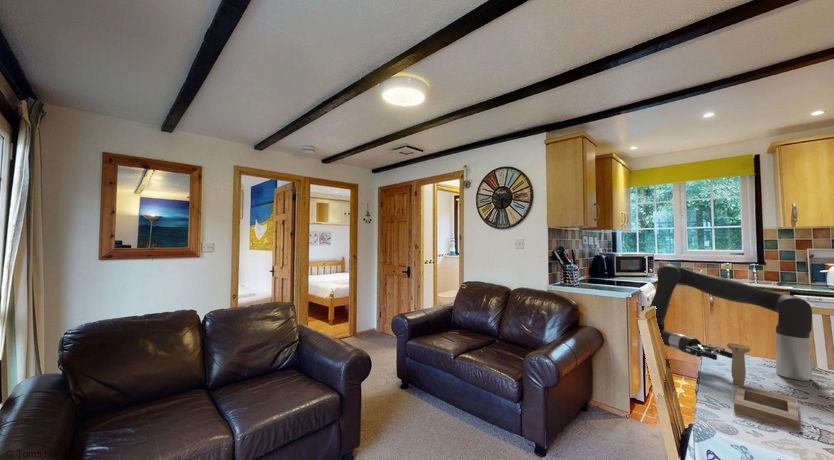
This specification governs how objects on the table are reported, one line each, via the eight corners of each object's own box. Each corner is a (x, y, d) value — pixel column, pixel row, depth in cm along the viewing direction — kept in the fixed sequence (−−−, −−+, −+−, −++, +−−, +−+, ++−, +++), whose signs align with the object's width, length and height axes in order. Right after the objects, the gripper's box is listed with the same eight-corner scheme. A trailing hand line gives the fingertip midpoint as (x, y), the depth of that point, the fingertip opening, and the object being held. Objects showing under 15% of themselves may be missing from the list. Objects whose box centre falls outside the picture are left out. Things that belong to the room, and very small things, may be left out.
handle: (747, 389, 124) (747, 349, 124) (725, 382, 129) (725, 344, 129) (751, 386, 126) (751, 347, 126) (729, 379, 132) (729, 342, 132)
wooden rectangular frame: (738, 392, 121) (738, 384, 121) (795, 407, 111) (795, 398, 111) (734, 411, 108) (734, 402, 108) (799, 430, 98) (799, 420, 98)
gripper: (671, 336, 147) (710, 348, 131) (696, 334, 150) (738, 346, 134) (671, 353, 147) (711, 367, 131) (696, 350, 150) (738, 364, 134)
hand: (724, 356), depth 133 cm, fingers open, 8 cm apart
